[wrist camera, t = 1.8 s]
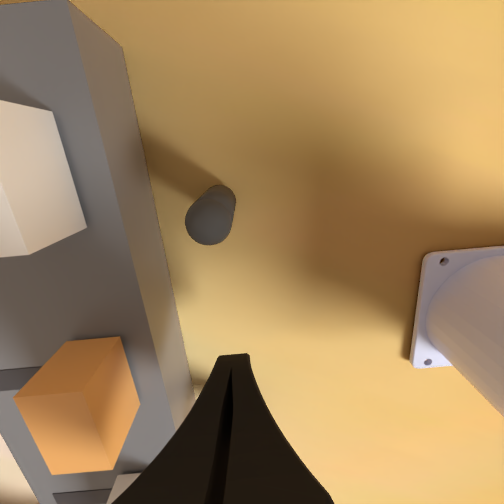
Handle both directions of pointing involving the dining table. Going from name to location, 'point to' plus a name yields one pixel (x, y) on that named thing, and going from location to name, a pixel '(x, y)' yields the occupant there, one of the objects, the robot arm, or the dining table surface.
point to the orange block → (81, 405)
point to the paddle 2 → (121, 485)
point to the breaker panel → (88, 247)
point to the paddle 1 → (34, 182)
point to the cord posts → (211, 216)
